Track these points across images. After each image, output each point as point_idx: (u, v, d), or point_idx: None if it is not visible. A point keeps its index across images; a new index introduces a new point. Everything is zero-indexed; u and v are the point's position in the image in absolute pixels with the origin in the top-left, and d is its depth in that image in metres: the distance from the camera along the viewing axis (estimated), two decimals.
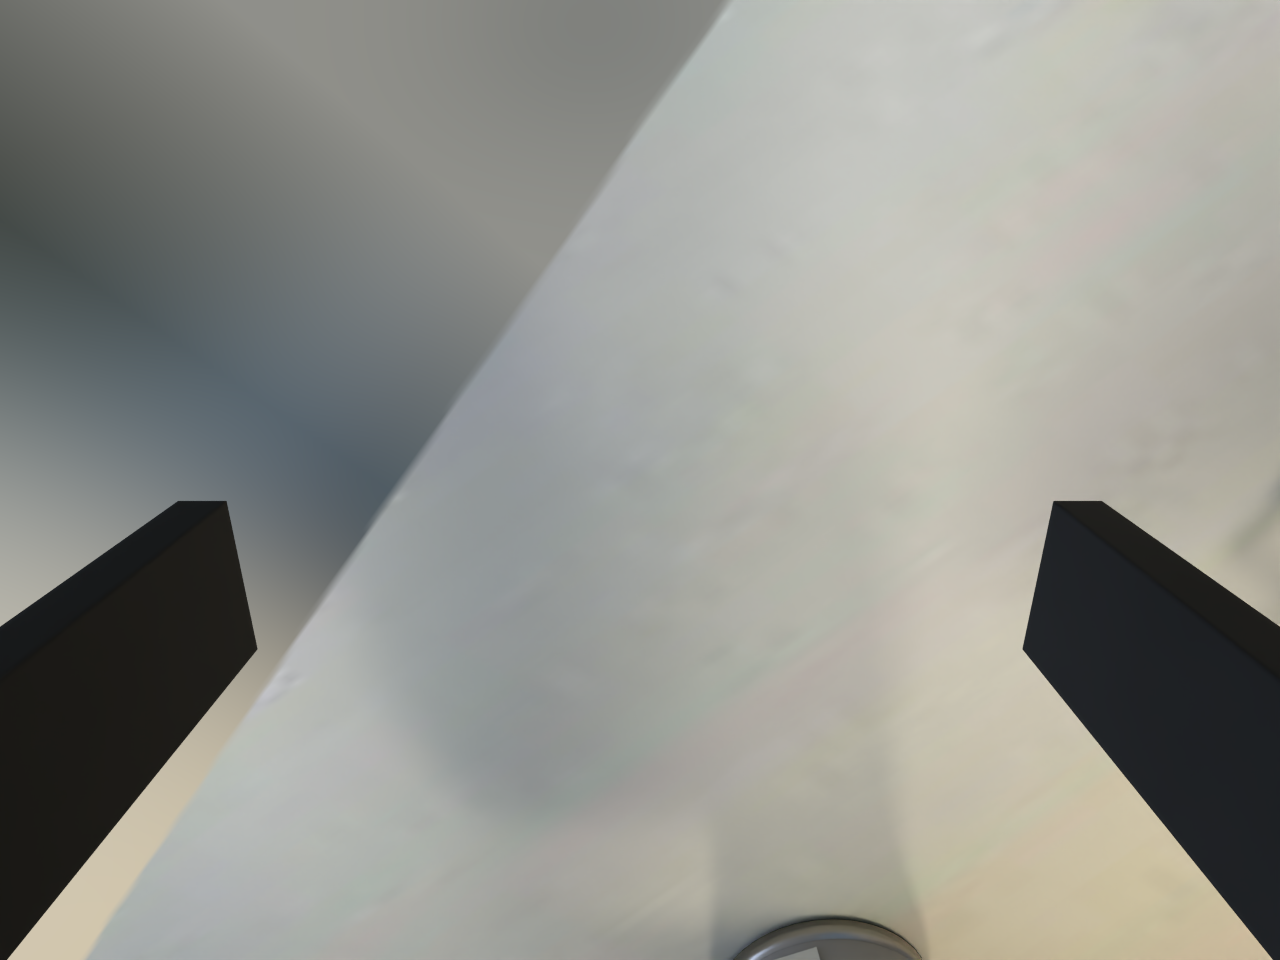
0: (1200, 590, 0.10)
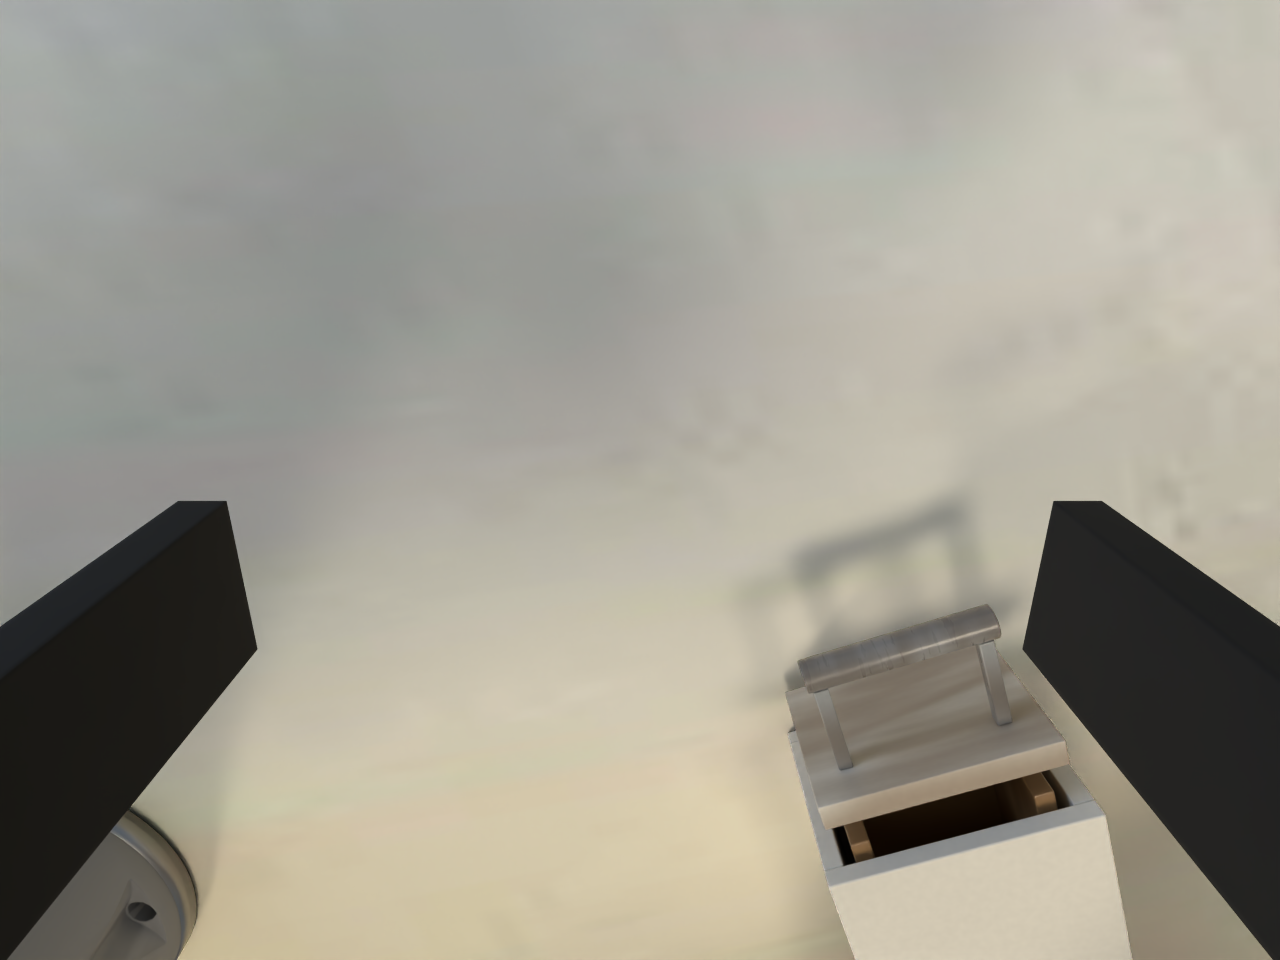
0: (1200, 590, 0.10)
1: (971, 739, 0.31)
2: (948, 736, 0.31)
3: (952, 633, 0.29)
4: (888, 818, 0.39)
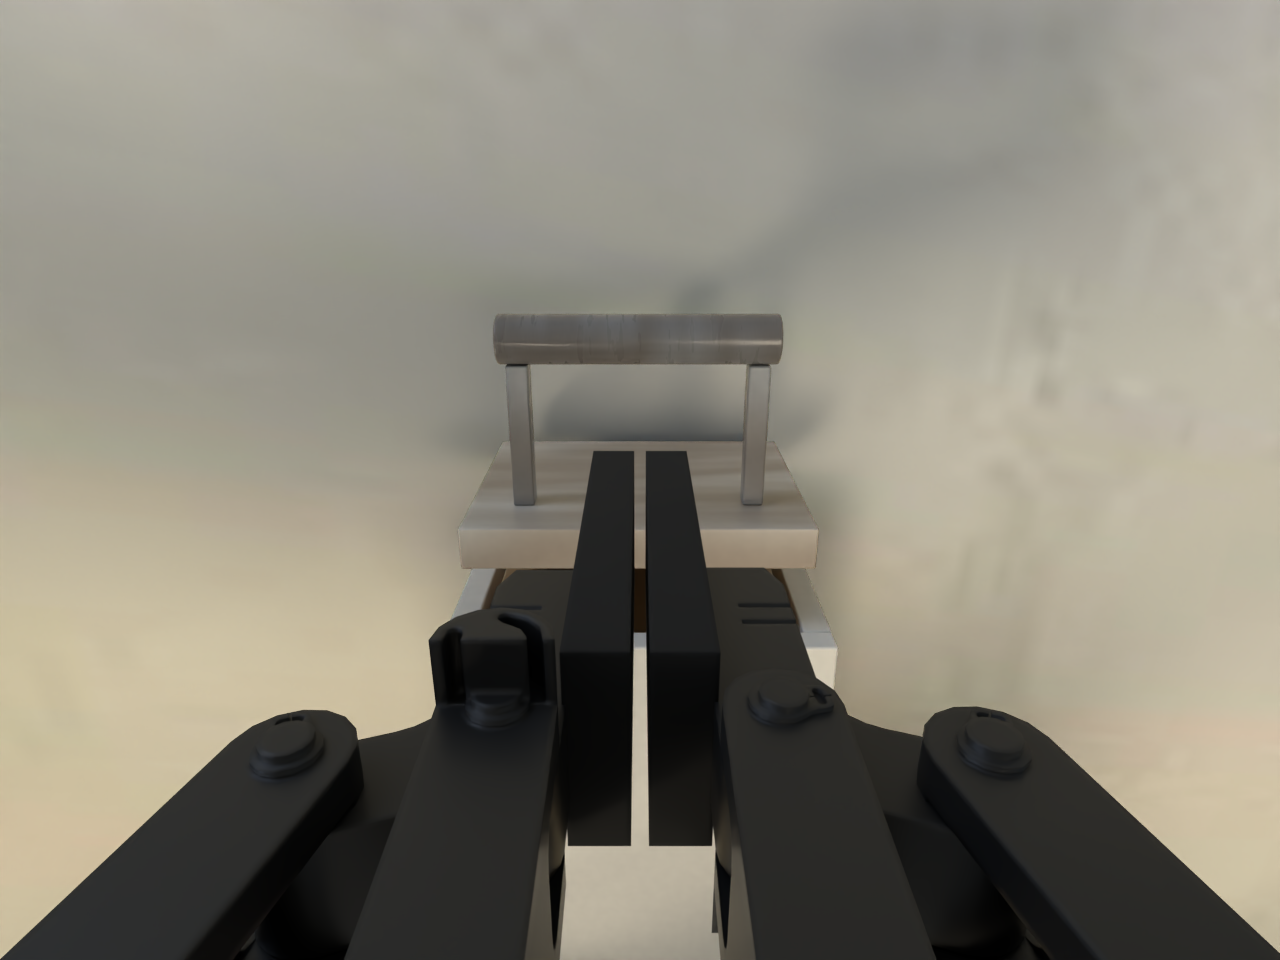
0: (673, 512, 0.12)
1: (701, 509, 0.22)
2: None
3: (717, 329, 0.20)
4: None
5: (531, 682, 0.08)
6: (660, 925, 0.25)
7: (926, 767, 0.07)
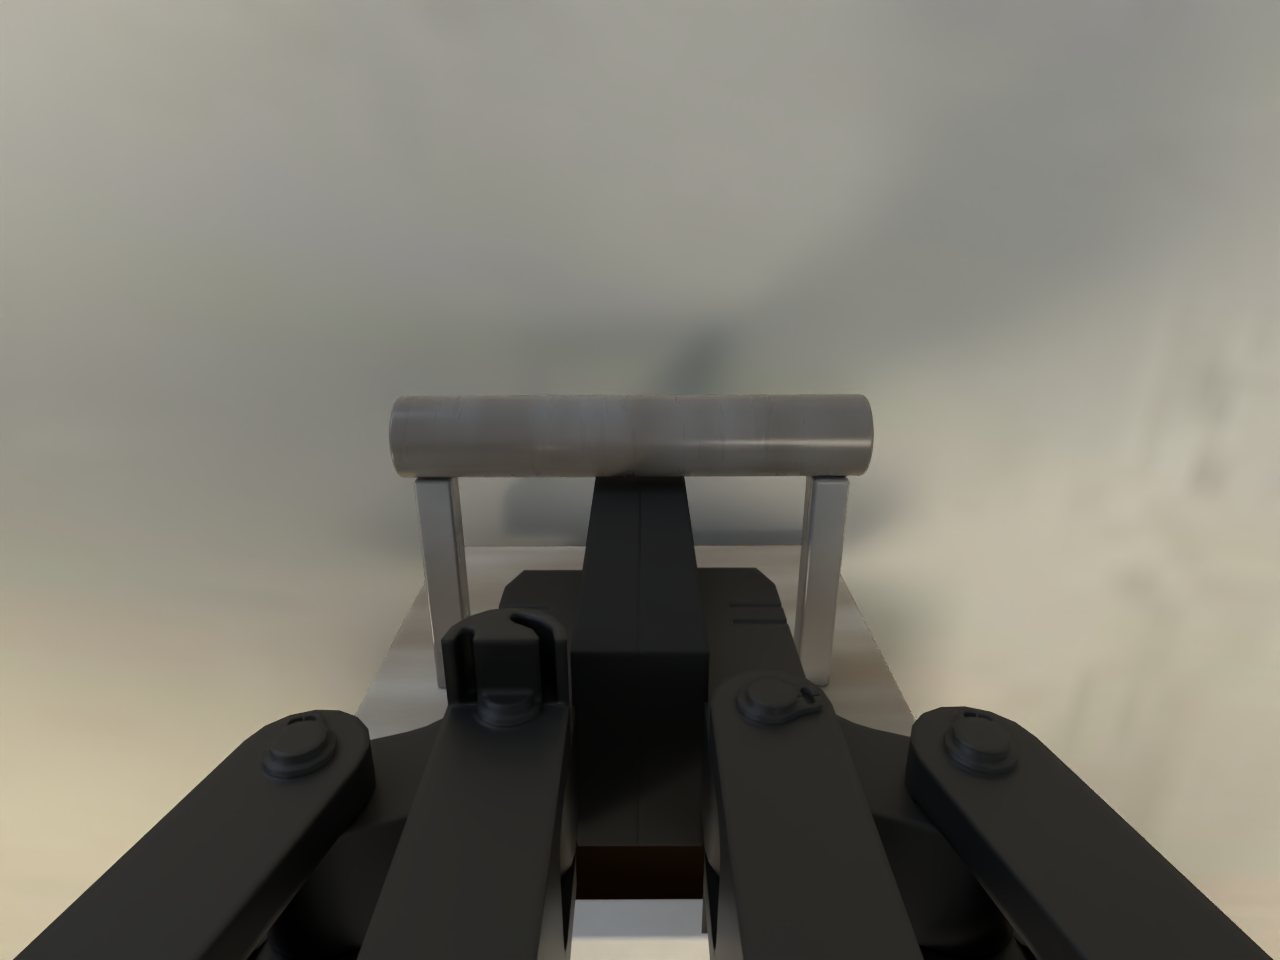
0: (665, 512, 0.12)
1: None
2: None
3: (764, 423, 0.12)
4: None
5: (542, 682, 0.08)
6: None
7: (913, 768, 0.07)
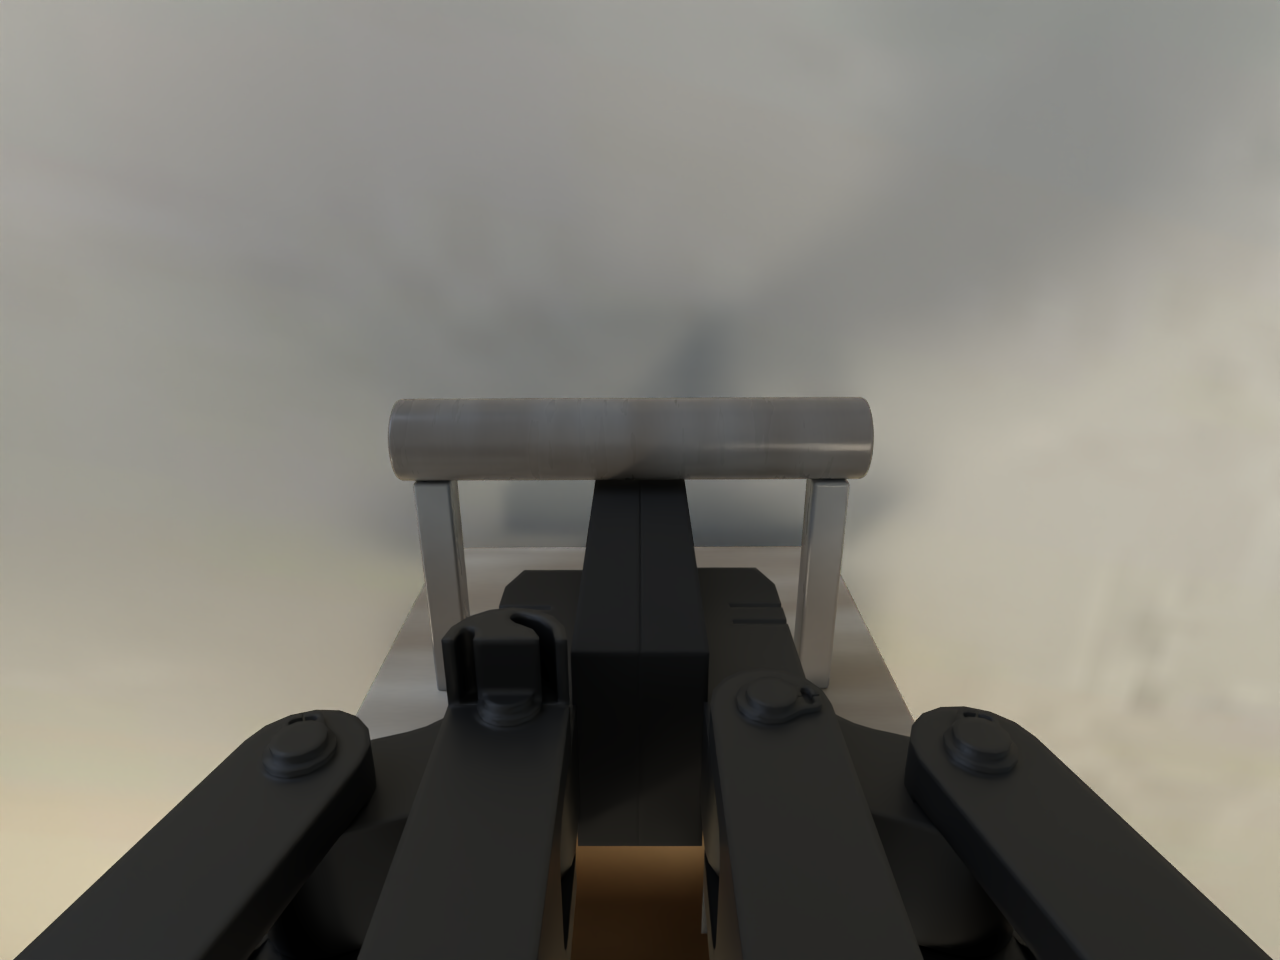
0: (665, 512, 0.12)
1: None
2: None
3: (763, 426, 0.12)
4: None
5: (542, 683, 0.08)
6: None
7: (913, 767, 0.07)
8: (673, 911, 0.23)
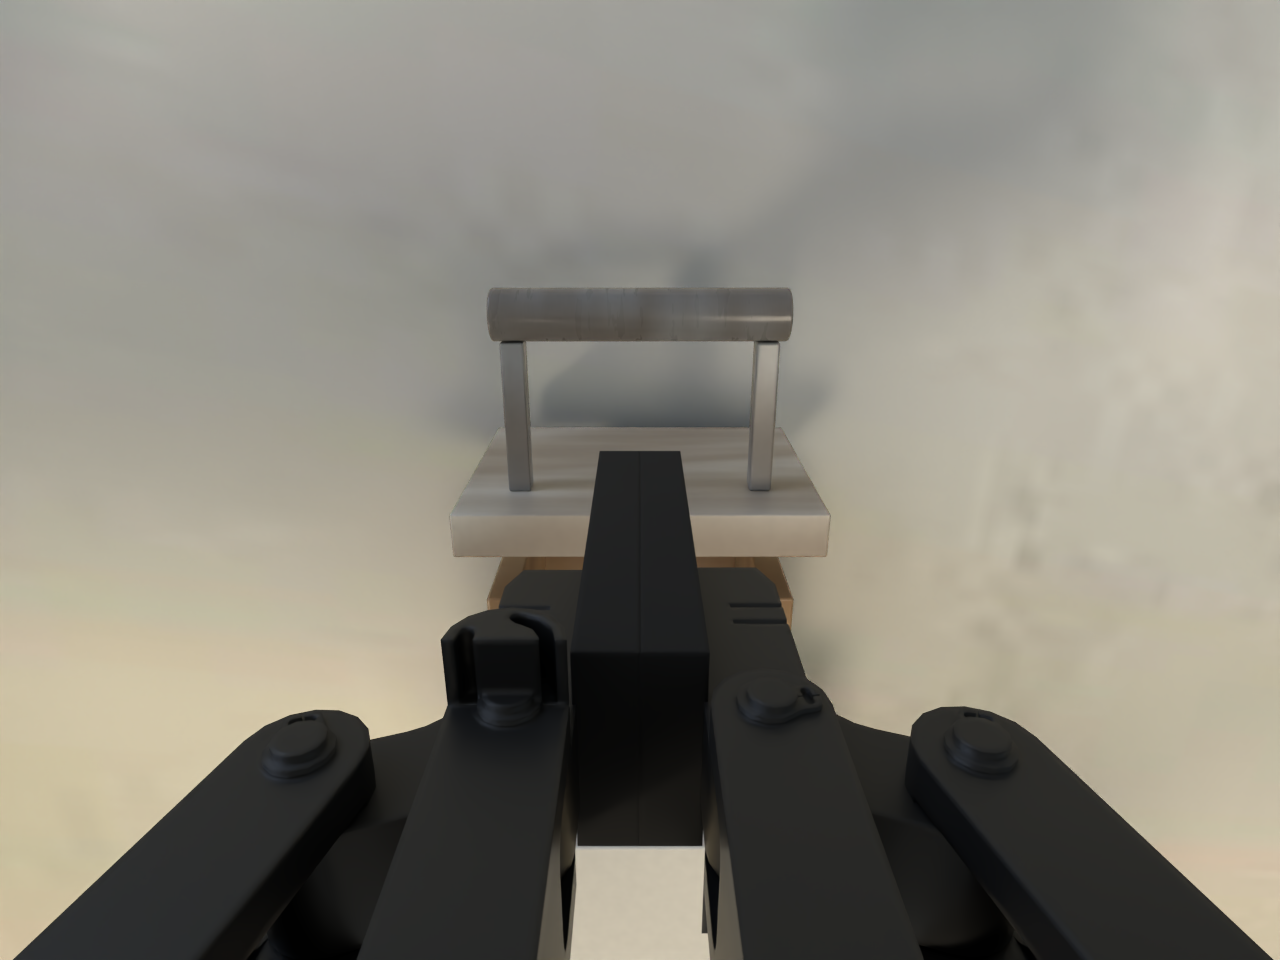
0: (665, 512, 0.12)
1: (705, 495, 0.21)
2: None
3: (723, 303, 0.19)
4: None
5: (542, 682, 0.08)
6: None
7: (914, 768, 0.07)
8: None
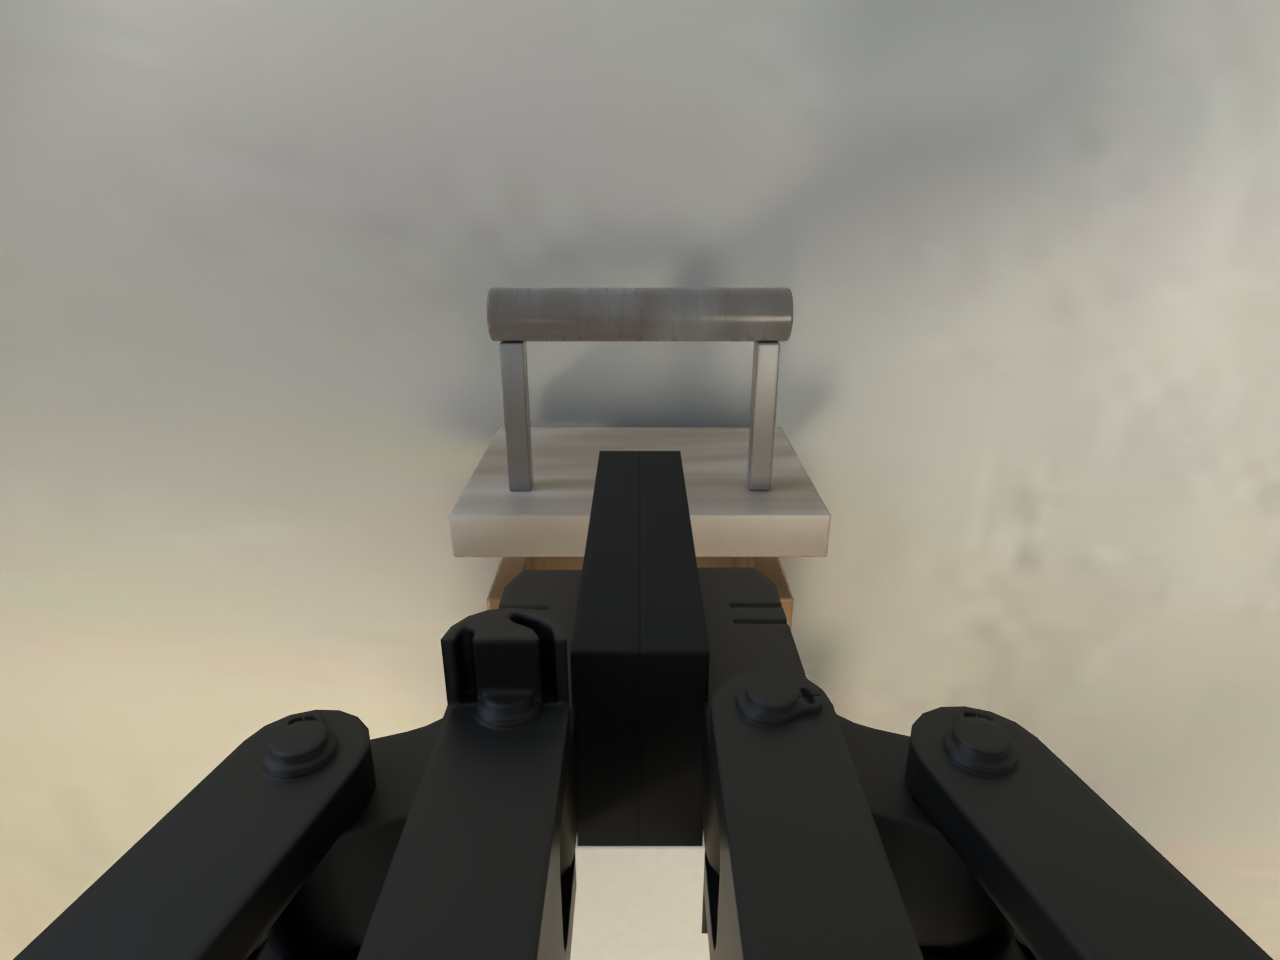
0: (665, 512, 0.12)
1: (705, 495, 0.21)
2: None
3: (723, 303, 0.19)
4: None
5: (542, 682, 0.08)
6: None
7: (914, 768, 0.07)
8: None
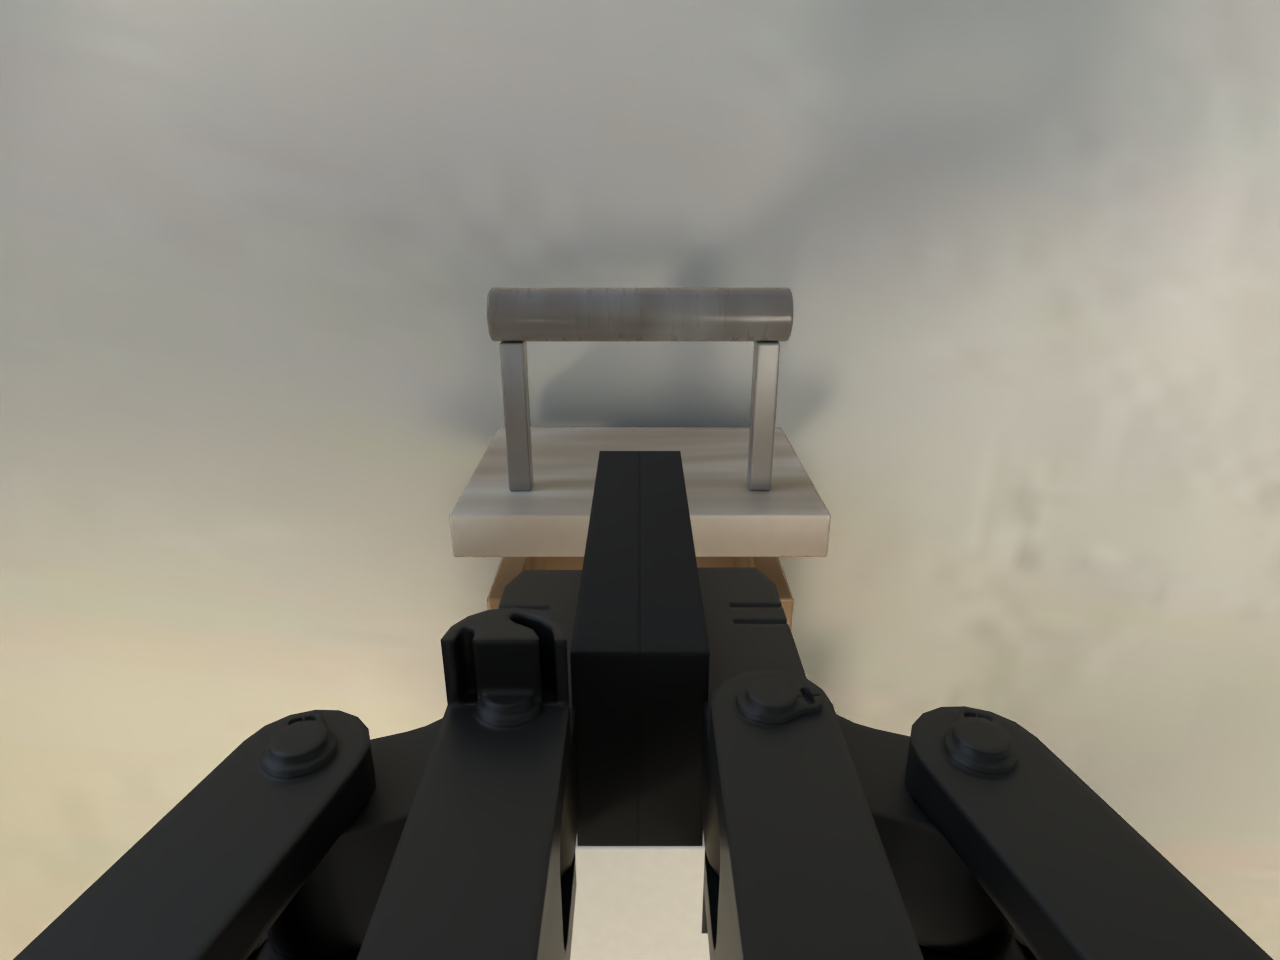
0: (665, 512, 0.12)
1: (706, 495, 0.21)
2: None
3: (723, 303, 0.19)
4: None
5: (542, 682, 0.08)
6: None
7: (914, 768, 0.07)
8: None
